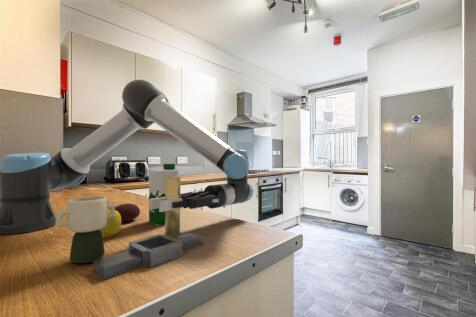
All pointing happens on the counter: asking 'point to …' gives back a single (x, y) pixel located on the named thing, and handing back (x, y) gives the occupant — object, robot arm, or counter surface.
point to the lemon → (112, 224)
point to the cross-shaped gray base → (146, 254)
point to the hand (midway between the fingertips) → (155, 205)
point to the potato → (128, 212)
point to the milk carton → (159, 189)
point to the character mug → (86, 226)
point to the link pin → (173, 215)
